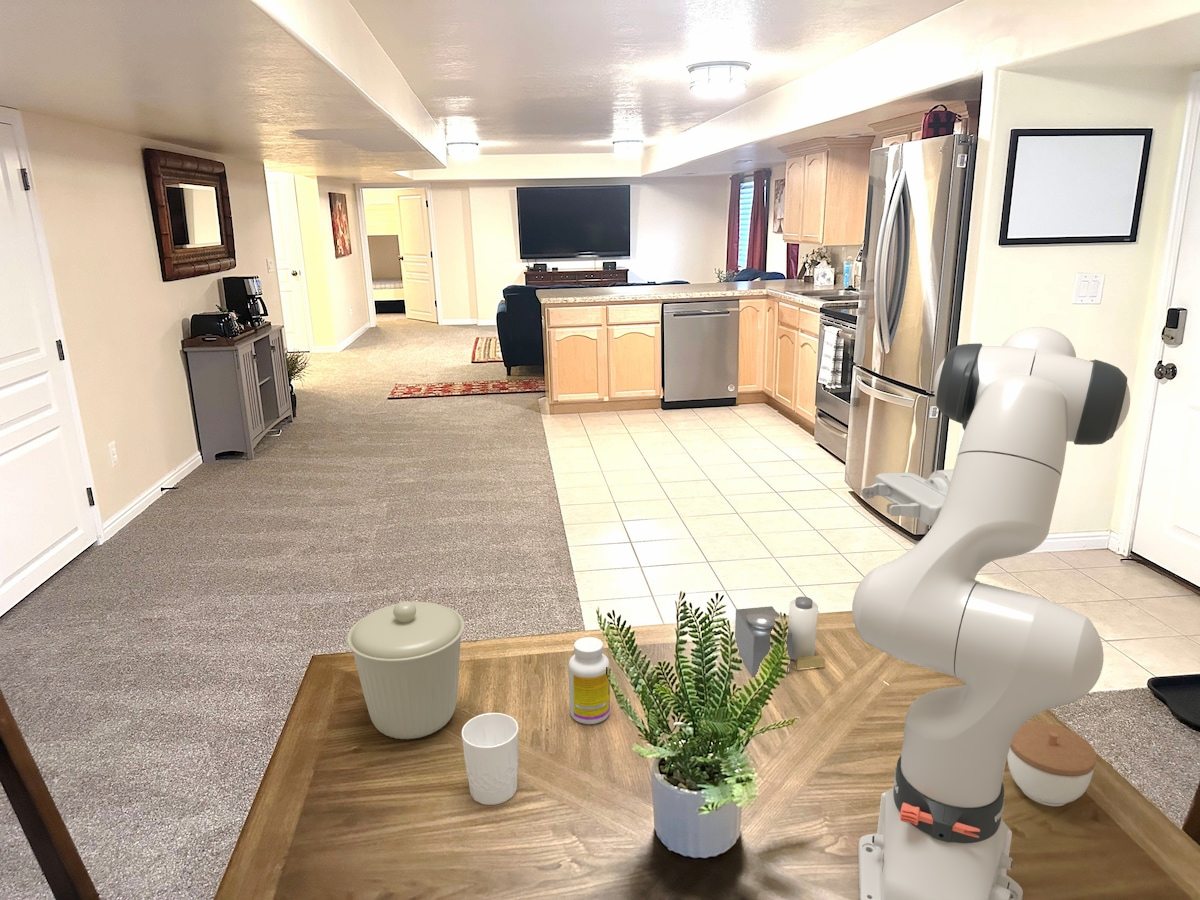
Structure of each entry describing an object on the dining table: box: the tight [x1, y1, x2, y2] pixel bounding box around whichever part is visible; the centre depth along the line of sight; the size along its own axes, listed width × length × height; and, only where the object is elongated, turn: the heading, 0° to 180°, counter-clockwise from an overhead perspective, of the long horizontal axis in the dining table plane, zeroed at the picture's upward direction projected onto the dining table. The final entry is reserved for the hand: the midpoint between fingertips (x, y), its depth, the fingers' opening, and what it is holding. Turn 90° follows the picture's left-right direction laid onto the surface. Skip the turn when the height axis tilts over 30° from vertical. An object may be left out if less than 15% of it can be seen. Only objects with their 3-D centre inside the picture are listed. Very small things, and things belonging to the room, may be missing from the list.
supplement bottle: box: [568, 636, 611, 725], centre depth 130 cm, size 7×7×13 cm
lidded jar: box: [1007, 721, 1098, 807], centre depth 112 cm, size 11×11×9 cm
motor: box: [734, 605, 825, 678], centre depth 147 cm, size 13×14×9 cm
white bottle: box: [788, 596, 819, 661], centre depth 146 cm, size 5×5×11 cm
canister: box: [346, 600, 466, 740], centre depth 128 cm, size 18×18×21 cm
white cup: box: [461, 712, 519, 806], centre depth 114 cm, size 8×8×10 cm
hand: (875, 501), depth 141 cm, fingers open, 8 cm apart
